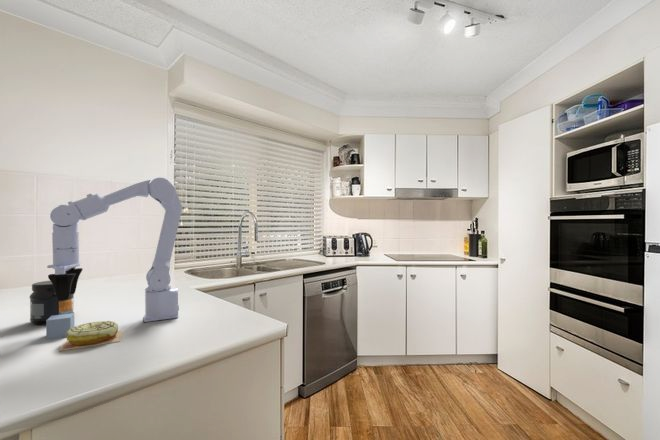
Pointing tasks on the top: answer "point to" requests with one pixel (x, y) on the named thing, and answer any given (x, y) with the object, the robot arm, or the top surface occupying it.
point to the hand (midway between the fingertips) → (66, 296)
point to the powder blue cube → (59, 325)
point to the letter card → (69, 346)
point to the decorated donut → (92, 332)
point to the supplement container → (47, 303)
